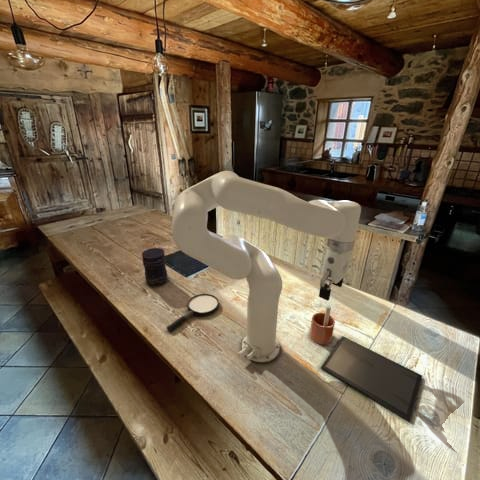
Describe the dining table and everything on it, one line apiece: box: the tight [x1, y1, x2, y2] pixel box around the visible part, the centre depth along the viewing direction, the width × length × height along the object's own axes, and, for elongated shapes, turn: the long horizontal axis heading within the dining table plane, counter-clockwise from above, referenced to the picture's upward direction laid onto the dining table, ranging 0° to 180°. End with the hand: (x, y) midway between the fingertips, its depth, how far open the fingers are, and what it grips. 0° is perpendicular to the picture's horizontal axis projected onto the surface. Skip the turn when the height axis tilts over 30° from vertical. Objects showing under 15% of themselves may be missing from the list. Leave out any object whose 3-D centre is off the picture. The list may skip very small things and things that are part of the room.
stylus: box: [323, 305, 332, 327], centre depth 90 cm, size 1×1×13 cm
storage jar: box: [141, 247, 168, 288], centre depth 122 cm, size 10×10×15 cm
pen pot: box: [309, 312, 336, 345], centre depth 92 cm, size 7×8×8 cm
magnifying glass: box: [166, 293, 220, 333], centre depth 104 cm, size 12×24×2 cm, turn 143°
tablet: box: [320, 335, 423, 422], centre depth 80 cm, size 17×24×1 cm
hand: (330, 291), depth 85 cm, fingers open, 9 cm apart
